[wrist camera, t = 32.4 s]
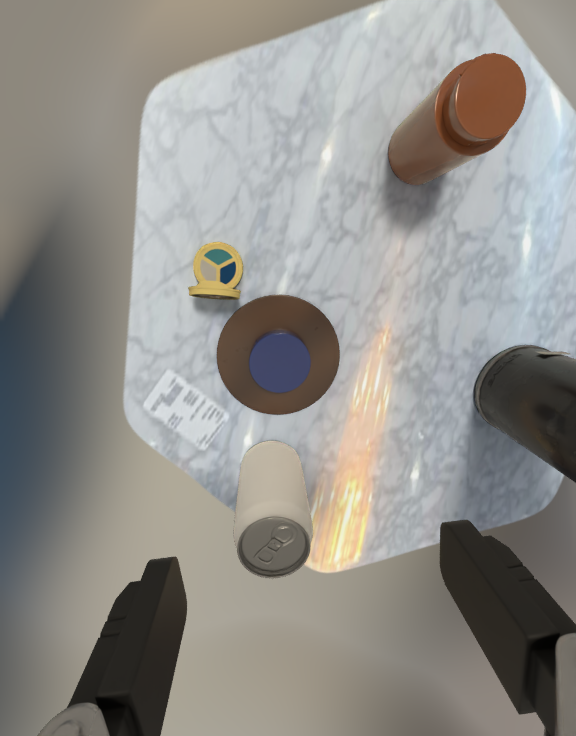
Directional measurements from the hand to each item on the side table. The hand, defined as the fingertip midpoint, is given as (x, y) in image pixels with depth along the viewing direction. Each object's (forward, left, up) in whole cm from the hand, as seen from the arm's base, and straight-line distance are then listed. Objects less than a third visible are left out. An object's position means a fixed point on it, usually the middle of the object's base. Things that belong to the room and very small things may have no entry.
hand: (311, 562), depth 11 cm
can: (-7, +10, -26) cm, 29 cm away
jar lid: (0, 0, -24) cm, 24 cm away
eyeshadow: (+9, -3, -26) cm, 28 cm away
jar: (+2, -22, -26) cm, 34 cm away
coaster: (0, 0, -26) cm, 26 cm away
